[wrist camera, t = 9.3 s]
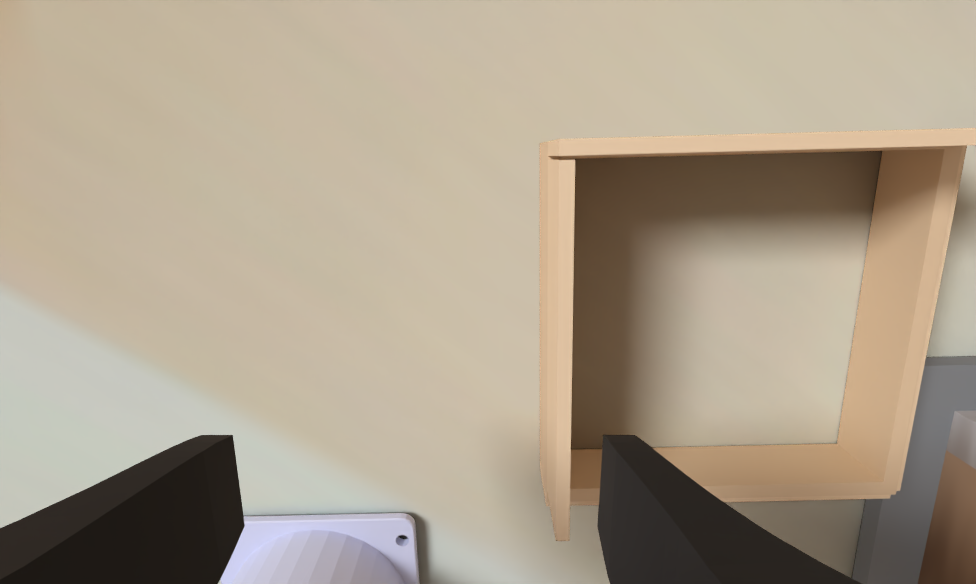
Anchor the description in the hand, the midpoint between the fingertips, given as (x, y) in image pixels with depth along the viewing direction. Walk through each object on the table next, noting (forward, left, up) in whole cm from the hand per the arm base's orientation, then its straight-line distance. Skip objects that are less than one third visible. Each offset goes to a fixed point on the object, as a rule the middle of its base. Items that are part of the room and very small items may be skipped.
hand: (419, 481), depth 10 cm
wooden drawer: (0, -9, -9) cm, 13 cm away
